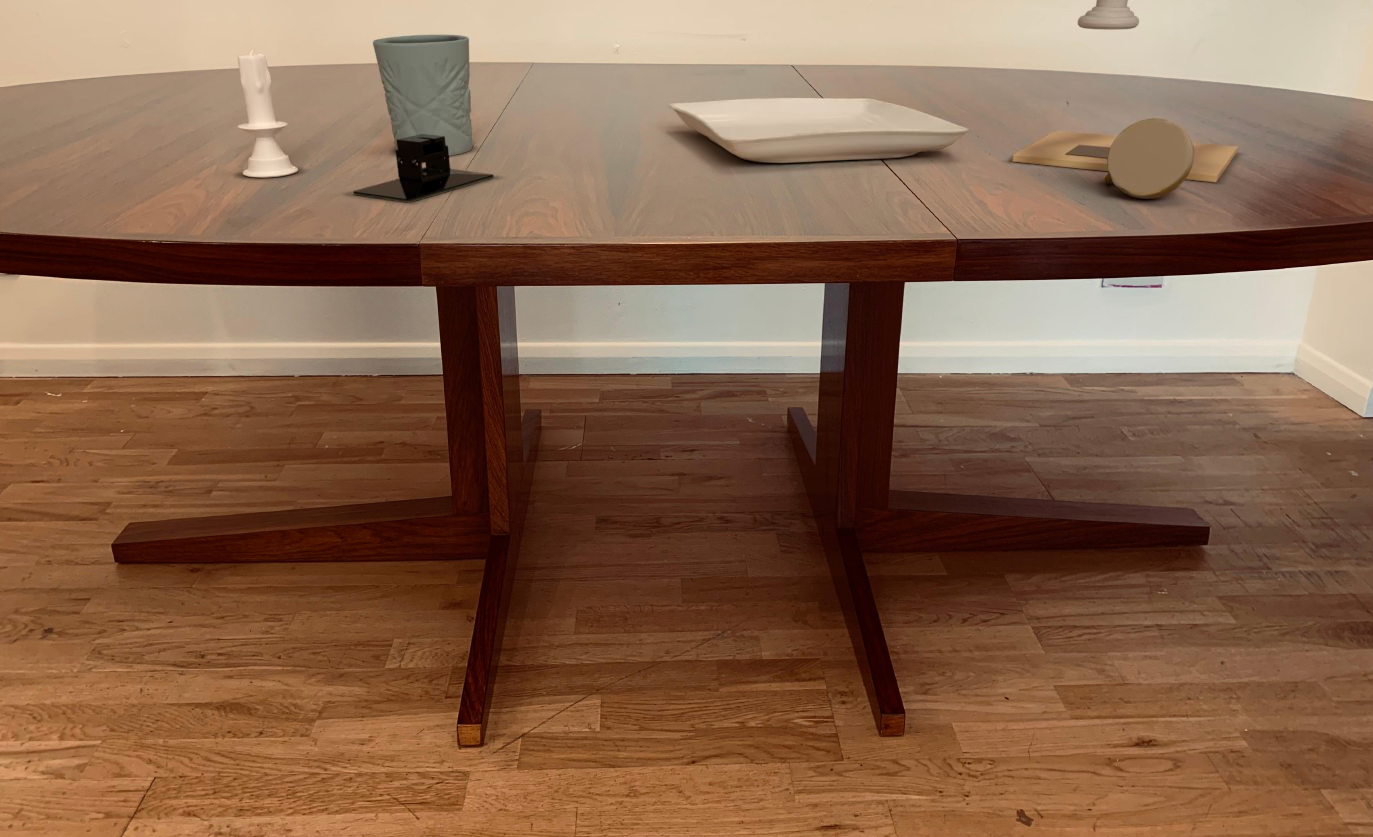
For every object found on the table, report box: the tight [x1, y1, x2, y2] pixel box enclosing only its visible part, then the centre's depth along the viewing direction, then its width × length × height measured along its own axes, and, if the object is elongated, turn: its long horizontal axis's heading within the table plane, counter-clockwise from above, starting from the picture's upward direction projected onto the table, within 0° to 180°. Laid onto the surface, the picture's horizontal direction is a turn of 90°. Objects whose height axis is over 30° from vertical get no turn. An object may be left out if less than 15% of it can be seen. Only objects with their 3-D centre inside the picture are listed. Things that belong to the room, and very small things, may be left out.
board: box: [1011, 130, 1239, 183], centre depth 111 cm, size 20×18×1 cm
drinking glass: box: [372, 34, 474, 157], centre depth 113 cm, size 10×10×12 cm
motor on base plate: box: [352, 134, 495, 203], centre depth 97 cm, size 12×7×5 cm, turn 152°
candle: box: [237, 48, 299, 179], centre depth 101 cm, size 5×5×12 cm
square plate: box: [668, 97, 970, 164], centre depth 117 cm, size 27×27×4 cm
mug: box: [1104, 117, 1194, 200], centre depth 94 cm, size 8×10×10 cm
